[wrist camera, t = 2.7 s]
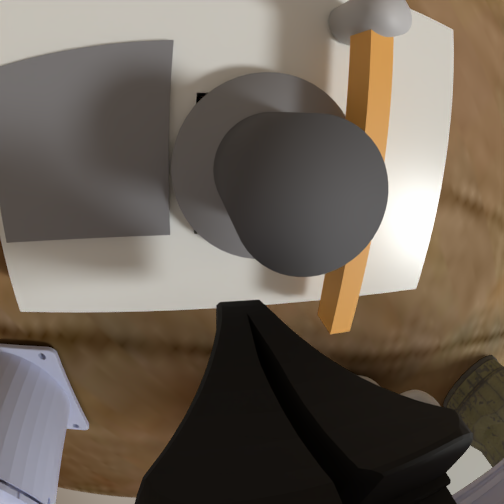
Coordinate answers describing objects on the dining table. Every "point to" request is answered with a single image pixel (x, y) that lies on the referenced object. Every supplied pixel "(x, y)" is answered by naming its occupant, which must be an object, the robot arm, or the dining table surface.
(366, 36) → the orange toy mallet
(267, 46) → the socket board
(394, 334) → the dining table surface
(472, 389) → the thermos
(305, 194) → the plug
